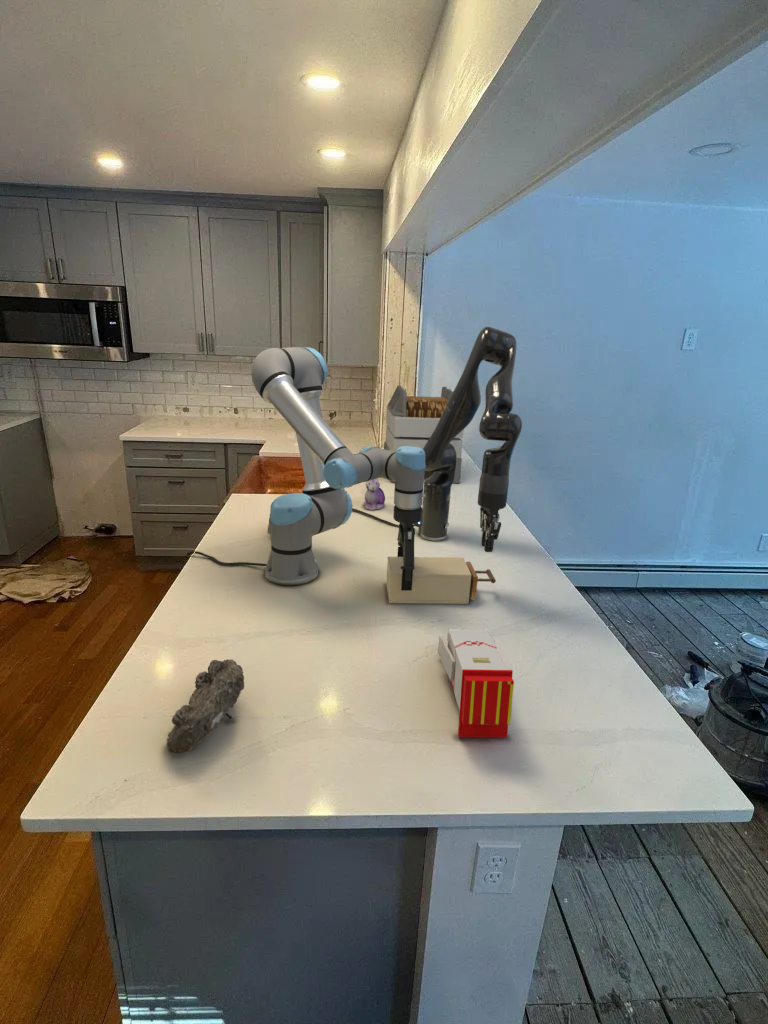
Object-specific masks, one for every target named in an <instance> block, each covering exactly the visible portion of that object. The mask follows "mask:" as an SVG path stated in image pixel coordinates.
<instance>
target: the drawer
mask: <svg viewBox="0 0 768 1024" xmlns="http://www.w3.org/2000/svg"><path fill="white" fill-rule="evenodd" d="M465 562H466V564H467V567H468V569H469V571H470V573H471V584H470V593H469V599H470V600H473V601H474V600H477V599H476V598H477V589H478V582H490V583H491V584H495V583H496V581H497V580H496V578H495V577H494V574H493V572H492V571H491V569H490V568H487V569H486V570H475V568H474V566H473V563H472V561H465ZM478 574H484V575H485V574H486V576H487V578H479V576H478Z"/></svg>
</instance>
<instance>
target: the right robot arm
mask: <svg viewBox="0 0 768 1024" xmlns="http://www.w3.org/2000/svg"><path fill="white" fill-rule="evenodd" d="M516 356H517V338H516V337H515V335H513V334H511V333H509V332H506V331H503V330H500V329H497V328H494V327H491V326H484V327H483V328H482V329H481V330H480V332H479V333H478V335H477V337H476V338H475V341H474V343H473V346H472V349H471V351H470V354H469V356H468V359H467V361H466V364H465V367H464V368H463V370H462V374H461V375H460V377H459V379H458V381H457V383H456V386H455V388H454V390H452V392H453V393H452V395H451V397H450V399H449V401H448V403H447V406H446V408H445V411H444V413H443V415H442V417H441V418H440V420H439V422H438V424H437V426H436V428H435V430H434V432H433V433H432V435H431V437H430V438H429V440H428V441H427V443H426V445H425V446H424V448H423V450H424V452H425V465H426V467H425V472H428V473H432V474H431V475H430V476H429V477H427V478H426V479H424V484H423V494H425V497H422V499H423V501H422V506H421V507H422V519H421V521H420V522H418V523H414V524H413V525H414V527H416V528H418V530H417V535H418V536H420V538H421V539H424V540H426V541H432V542H440V541H444V540H446V539H447V538H448V527H450V522H449V517H450V516H449V514H450V504H451V494H452V493H451V491H452V486H453V484H454V483H453V482H454V476H455V469H456V461H457V455H456V450H455V448H454V446H453V445H452V444H450V442H451V441H452V440H453V438H455V437H456V436H457V435H458V434H459V433H460V432H461V431H462V430H463V429H464V430H465V429H466V428H467V427H468V426H469V425H470V424H471V422H472V421H473V419H474V417H475V415H476V414H477V412H478V410H479V408H480V406H481V403H482V395H481V388H480V382H479V369H480V365H481V363H482V362H483V361H484V362H486V363H490V364H493V365H495V366H499V369H498V370H497V371H496V373H494V374H493V375H492V376H491V377H490V379H489V380H487V383H486V385H485V406H484V411H483V414H482V416H481V418H480V421H479V427H478V431H479V435H480V436H481V437H482V438H483V439H484V440H486V441H496V442H497V441H499V442H503V444H502V445H500V446H498V447H497V446H496V447H493V448H488V449H486V450H485V451H484V452H483V457H482V466H481V468H482V469H481V472H480V473H481V474H480V476H479V477H480V478H479V485H478V487H479V488H478V494H477V505H478V506H479V511H480V512H479V514H480V515H479V517H480V518H479V528H480V531H481V541H480V545H481V547H484V549H483V550H484V552H485V553H493V551H494V545H495V541H498V538H499V534H500V532H501V528H502V522H501V521H500V517H501V515H500V513H499V511H500V510H502V509H506V507H507V501H508V494H509V493H508V492H509V487H510V485H509V484H510V469H511V460H512V456H513V452H514V450H515V447H516V445H517V442H518V440H519V438H520V436H521V434H522V430H523V420H522V418H521V416H519V414H517V413H511V412H512V410H513V407H514V397H513V377H514V372H515V371H514V370H515V366H516V365H515V363H516ZM352 512H355V513H358V514H362V515H365V516H367V517H370V518H372V519H375V520H377V521H379V522H382V523H384V524H387V525H390V526H392V527H396V528H399V524H395V523H394V522H391V521H389V520H388V521H387V520H385V519H382V518H380V517H378V516H376V515H373V514H370V513H368V512H365V511H363V510H359V509H357V508H353V507H352Z"/></svg>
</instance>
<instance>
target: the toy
mask: <svg viewBox="0 0 768 1024" xmlns="http://www.w3.org/2000/svg"><path fill="white" fill-rule="evenodd" d="M446 640H447V643H446V641H445V639H444V636H443V635H442V634H439V637H438V646H437V656H438V657H439V659H440V661H441V663H442V666H443V668H444V670H445V672H446V674H447V677H448V679H449V681H450V684H451V687H452V690H453V693H454V697H455V701H456V705H457V708H458V711H459V714H458V715H459V716H458V730H457V731H458V732H457V737H458V738H508V731H509V726H510V725H511V717H512V707H513V697H514V696H513V695H514V684H515V680H514V679H513V673H514V671H513V670H512V669H508V667H507V665H506V662H505V661H504V659H503V658H502V655H501V653H500V651H499V649H498V647H497V643H496V639H495V637H494V635H493V634H491V632H490V631H489V629H467V628H466V629H465V628H463V629H461V628H460V629H459V628H448V630H447V639H446Z"/></svg>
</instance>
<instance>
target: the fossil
mask: <svg viewBox="0 0 768 1024" xmlns="http://www.w3.org/2000/svg"><path fill="white" fill-rule="evenodd" d="M243 670H244V669H243V667H242V665H240V664H237V662H236V661H235V660H234V659H232V658H231V659H227V658H226V659H224V660H223V661H222V660H217V659H212V660H211V661H210V663H209V665H208V666H207V671H201V672H199V673H198V674H197V675H196V676H195V680H194V684H195V685H194V687H195V689H194V690H193V693H192V694H191V697H190V698H189V700H188V704H184V705H182V706H181V707H180V709H177V710H176V711H175V713H174V715H173V716H172V718H171V723H172V724H173V727H172V730H171V731H170V732H168V734H167V738H166V741H167V742H166V745H167V749H168V750H169V751H173V752H174V753H176V754H178V753H182V752H188V751H189V752H192V751H193V750H195V748H196V747H197V746H199V744H200V743H201V742H203V741H204V740H205V739H206V738H207V737H208V736H209V735H210V734H211V733H212V732H214V730H215V729H217V727H218V726H219V724H220V722H221V721H222V720H223V719H224V718H225V716H226V717H227V719H229V720H233V717H232V715H230V714H229V710H230V709H231V708H234V706H235V704H236V703H237V702H238V699H239V697H240V695H241V693H242V691H243V690H245V689H244V688H245V675H244V671H243Z"/></svg>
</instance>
